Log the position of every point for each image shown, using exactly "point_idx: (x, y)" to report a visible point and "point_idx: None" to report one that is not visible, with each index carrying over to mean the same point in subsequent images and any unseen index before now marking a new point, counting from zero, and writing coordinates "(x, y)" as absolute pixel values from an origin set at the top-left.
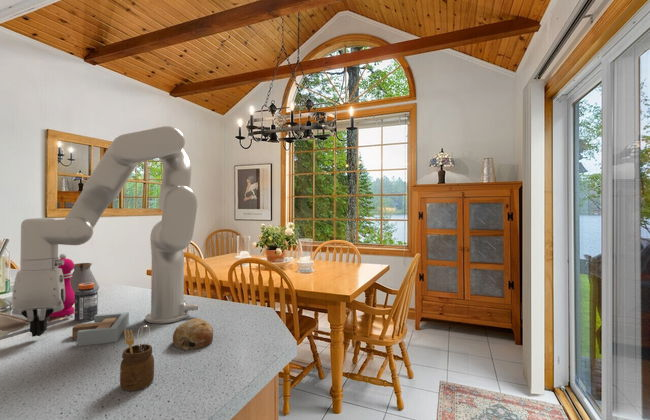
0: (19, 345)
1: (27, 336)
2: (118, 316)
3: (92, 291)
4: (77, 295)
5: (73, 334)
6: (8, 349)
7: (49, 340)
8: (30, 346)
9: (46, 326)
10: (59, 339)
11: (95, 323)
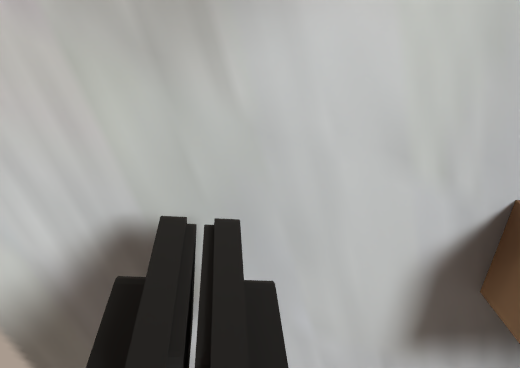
0: (86, 304)
1: (3, 42)
2: None
3: None
4: None
5: (512, 323)
6: (46, 361)
7: (302, 265)
8: (194, 349)
9: (276, 310)
10: (381, 267)
11: None
